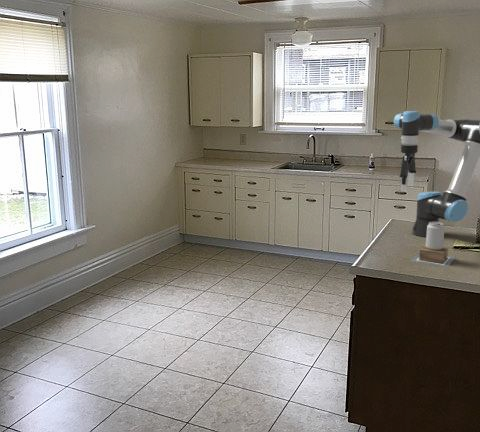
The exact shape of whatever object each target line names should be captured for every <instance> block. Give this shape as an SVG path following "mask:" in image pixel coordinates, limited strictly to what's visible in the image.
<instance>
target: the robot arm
mask: <svg viewBox="0 0 480 432" xmlns="http://www.w3.org/2000/svg"><path fill="white" fill-rule="evenodd" d="M393 118H394V119H393V125H394V127H395V128H397V129H400V130H401V137H400V139H401V145H400V153H402V154H404V155H403V156H402V162H401V163H402V164H401V167H400V168H401V169H400V175H399V178H400V180H401V181H400V191H401V192H408V187H414V186H415V174H416V173H417V170H416V154H417V153H418V150H419V148H418V147H419V145H418V144H419V133H420V132H422V133H428V134H434V135H442V136H443V137H444V138H447V139H452V140H455V141H459V142H462V144H463V146H464V147H463V149H462V152H461V154H460V156H459V160H458V162H457V165H456V167H455V170H454V173H453V175H452V178H451V181H450V182H449V185H448V188H447V189H446V190H444V191H443V193H442V192H441V191H423V192H419V193H418V195H417V200H416V215H415V217H416V219H415V221H414V224H413V226H412V229H411V233H412V234H413V235H415V236H418V237H423V238H424V237H425V238H426V235H427V225H429V222H440V219H441V220H445V221H448V222H453V223H454V222H455V223H456V222H459V221H461V220H463V219H464V218H465V217H466V215H467V213H468V210H469V205H468V202H467V197H466V193H467V190H468V187H469V185H470V184H471V180H472V177H473V174H474V173H475V170H476V167H477V165H478V163H479V159H480V119H452V118H450V119H446V120H445V119H439V116H438V115H436V114H434V113H428V114H427V113H426V114H424V113H423V114H422V113H420V111H418V110H406V111H403V112H402V113H398V114H396V115H395V116H394V117H393Z"/></svg>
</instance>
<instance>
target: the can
mask: <svg viewBox="0 0 480 432" xmlns="http://www.w3.org/2000/svg"><path fill="white" fill-rule="evenodd" d="M444 239H445V225H444V223H443V222H440V221H439V222H429V225H427V235H426V237H425V245H426V247H427V248H428V249H430V250H441V249H442V248H443V247H444Z"/></svg>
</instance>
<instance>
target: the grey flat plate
mask: <svg viewBox="0 0 480 432" xmlns="http://www.w3.org/2000/svg"><path fill="white" fill-rule="evenodd" d="M419 256H420V252H419V253H418V254H416V255H415V256H414V257H413V258H412V259H411V260H410V261H409V262H411V263H417V264H423V265H429V266H435V267H439V268H440V267H441V268H449V266H450V265H451V264H452V262H454V260H455V259H456V257H457V256H453V255H448V257H447V259H446V260H445V261H444V262H443V264H439V263H433V262H427V261H421V260H419Z"/></svg>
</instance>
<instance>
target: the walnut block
mask: <svg viewBox="0 0 480 432" xmlns="http://www.w3.org/2000/svg"><path fill="white" fill-rule="evenodd" d="M419 253H420V256H419V260H421V261H427V262H433V263H439V264H443V262H444V261H445V260H446V259H447V257H448V256H449V247H446V246H443V248H442V249H441V250H430V249H428V248H427V247H426V244H425V245H423V246H422V247H421V248H420V249H419Z"/></svg>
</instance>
